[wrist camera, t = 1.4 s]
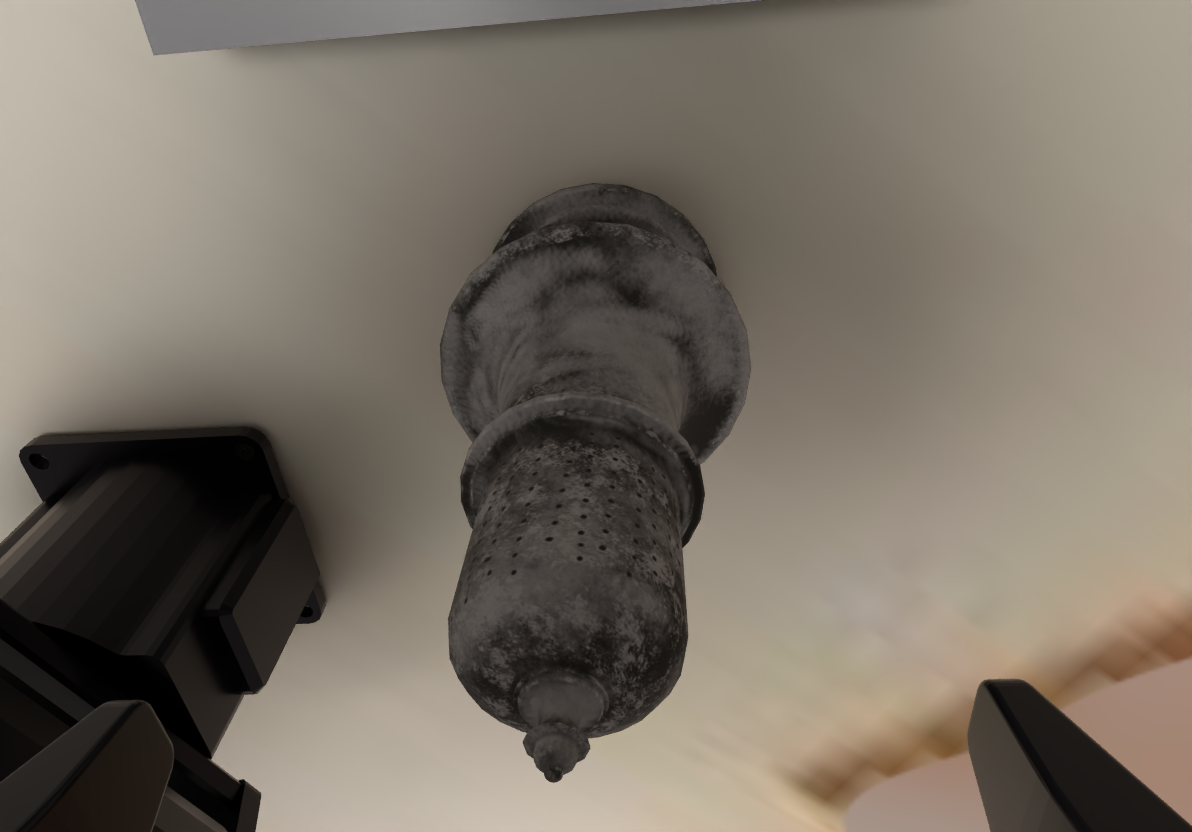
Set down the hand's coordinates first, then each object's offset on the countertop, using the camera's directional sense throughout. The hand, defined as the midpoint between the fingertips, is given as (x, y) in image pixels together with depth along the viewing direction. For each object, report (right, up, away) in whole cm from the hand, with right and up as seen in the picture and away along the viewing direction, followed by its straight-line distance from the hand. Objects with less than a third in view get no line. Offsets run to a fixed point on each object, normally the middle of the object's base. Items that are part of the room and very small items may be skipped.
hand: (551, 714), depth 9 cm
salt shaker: (+1, +6, +10) cm, 11 cm away
